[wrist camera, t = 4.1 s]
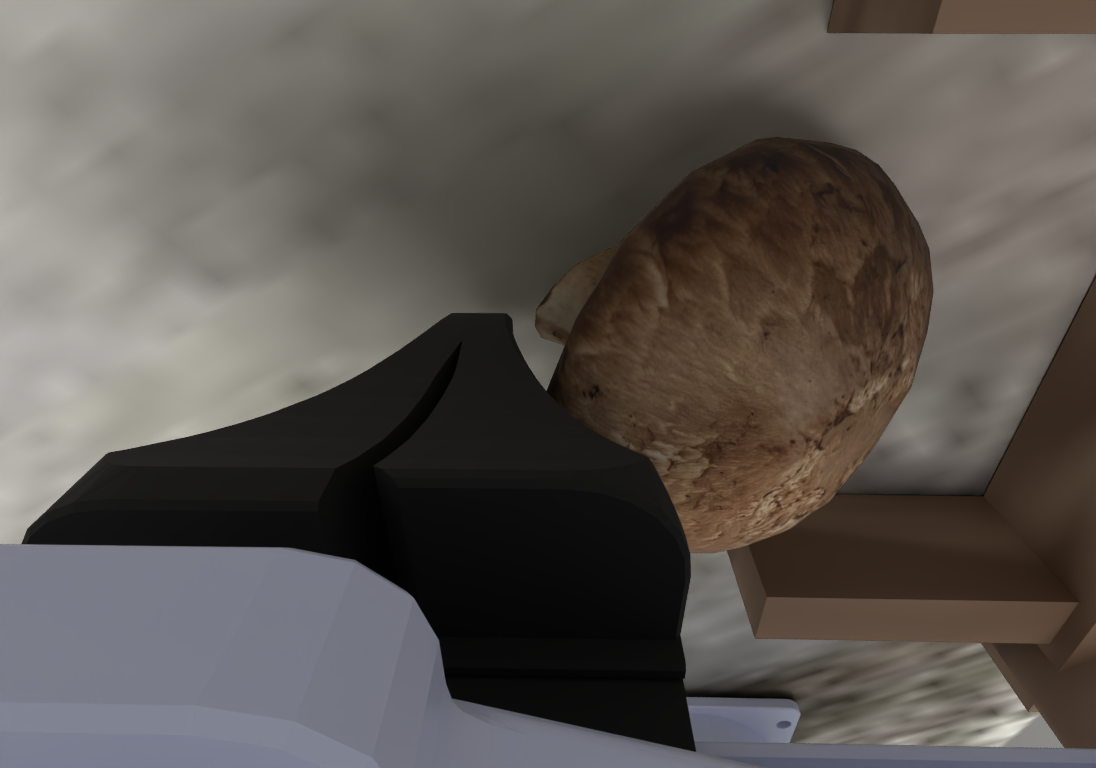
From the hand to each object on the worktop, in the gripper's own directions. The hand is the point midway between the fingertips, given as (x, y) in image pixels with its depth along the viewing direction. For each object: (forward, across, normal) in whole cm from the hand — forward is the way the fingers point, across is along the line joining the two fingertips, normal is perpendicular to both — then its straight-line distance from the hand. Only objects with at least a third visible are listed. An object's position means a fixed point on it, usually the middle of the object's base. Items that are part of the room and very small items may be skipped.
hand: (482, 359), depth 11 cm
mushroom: (+3, -5, 0) cm, 5 cm away
